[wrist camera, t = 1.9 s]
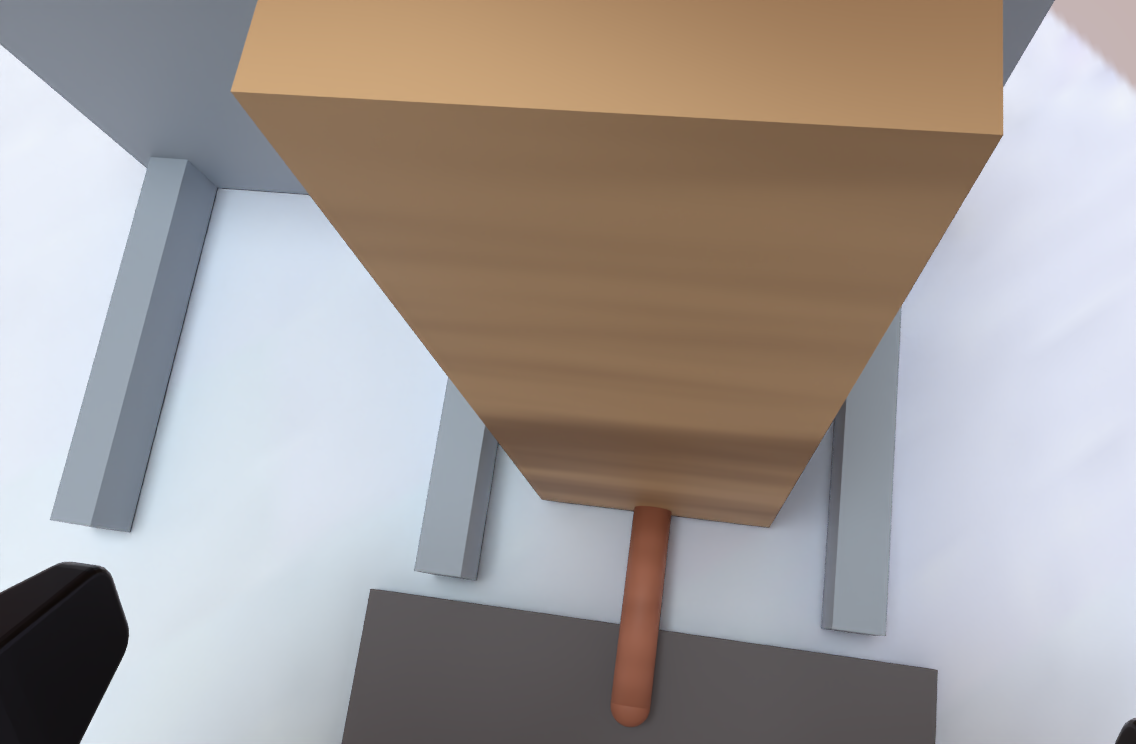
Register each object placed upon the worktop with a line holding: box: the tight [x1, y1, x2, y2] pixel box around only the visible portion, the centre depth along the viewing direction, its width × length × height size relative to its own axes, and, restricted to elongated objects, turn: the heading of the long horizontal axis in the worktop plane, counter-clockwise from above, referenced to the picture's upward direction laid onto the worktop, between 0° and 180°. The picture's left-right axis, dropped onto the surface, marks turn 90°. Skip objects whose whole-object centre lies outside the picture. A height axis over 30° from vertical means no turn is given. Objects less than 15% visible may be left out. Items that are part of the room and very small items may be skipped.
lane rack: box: [0, 0, 1055, 636], centre depth 17 cm, size 10×19×10 cm, turn 82°
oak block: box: [230, 0, 1003, 727], centre depth 13 cm, size 9×5×15 cm, turn 172°
